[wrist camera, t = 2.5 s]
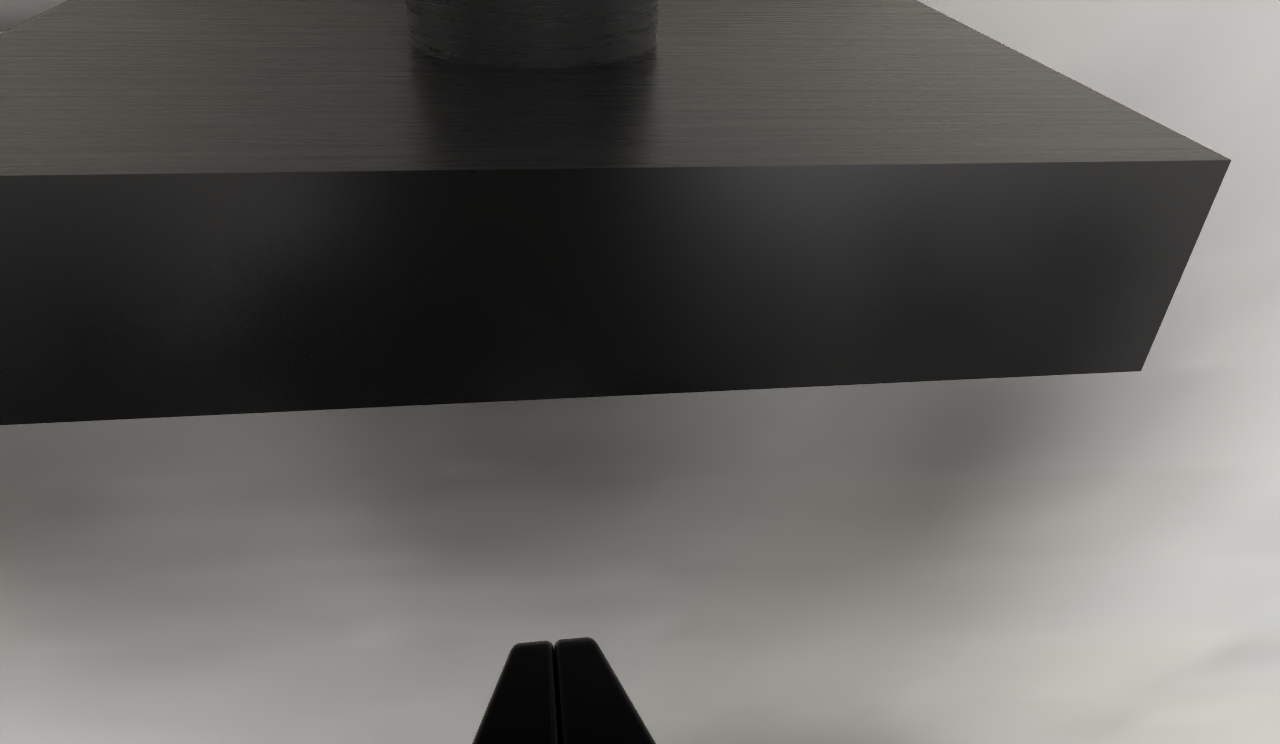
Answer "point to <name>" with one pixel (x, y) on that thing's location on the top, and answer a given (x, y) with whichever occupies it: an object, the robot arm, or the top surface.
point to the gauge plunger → (560, 204)
